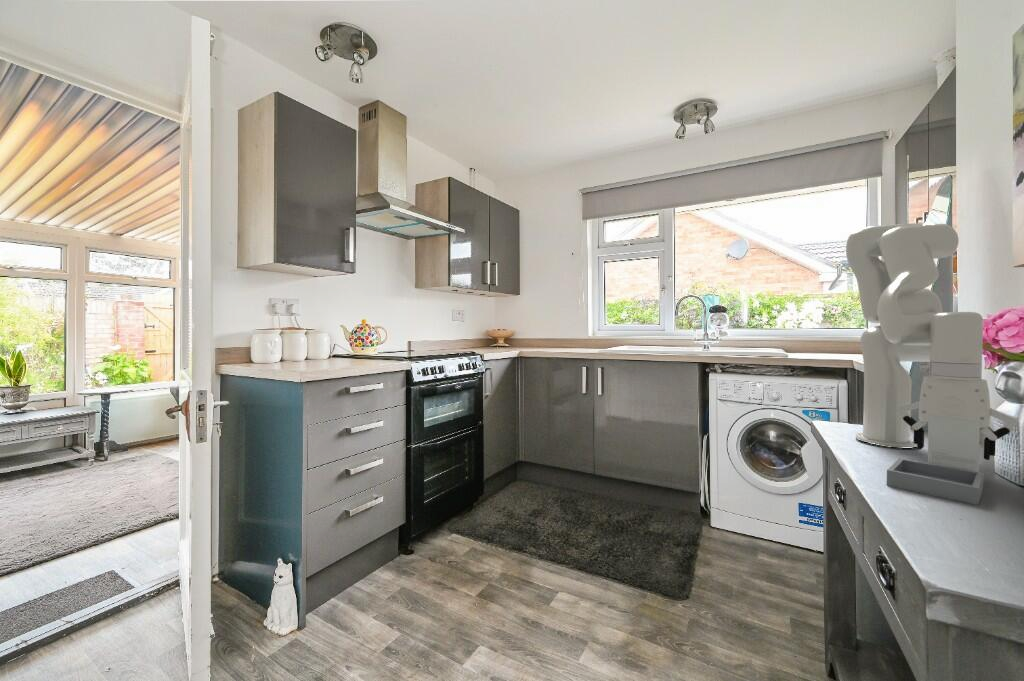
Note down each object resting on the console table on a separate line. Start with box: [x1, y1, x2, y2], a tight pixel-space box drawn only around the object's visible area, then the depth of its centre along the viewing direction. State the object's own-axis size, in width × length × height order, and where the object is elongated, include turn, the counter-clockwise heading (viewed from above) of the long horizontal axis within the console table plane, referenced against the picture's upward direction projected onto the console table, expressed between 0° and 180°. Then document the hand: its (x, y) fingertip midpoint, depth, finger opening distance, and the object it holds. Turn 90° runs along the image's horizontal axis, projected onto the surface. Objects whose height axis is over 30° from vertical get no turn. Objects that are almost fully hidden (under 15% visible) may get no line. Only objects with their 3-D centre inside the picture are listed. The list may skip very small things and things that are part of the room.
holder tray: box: [886, 457, 984, 506], centre depth 82 cm, size 12×12×3 cm
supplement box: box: [927, 416, 981, 473], centre depth 88 cm, size 7×7×13 cm
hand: (952, 453), depth 88 cm, fingers open, 9 cm apart
